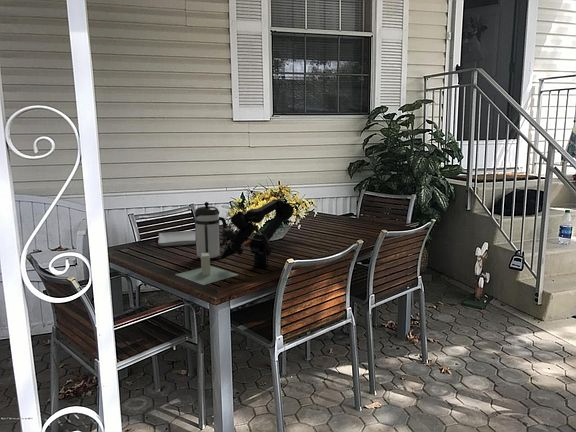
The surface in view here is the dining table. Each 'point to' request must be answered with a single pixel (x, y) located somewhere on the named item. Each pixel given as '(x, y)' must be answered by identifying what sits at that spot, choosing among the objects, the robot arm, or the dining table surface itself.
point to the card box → (205, 264)
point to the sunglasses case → (245, 242)
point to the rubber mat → (206, 279)
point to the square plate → (177, 238)
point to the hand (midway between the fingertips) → (221, 258)
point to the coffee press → (208, 231)
